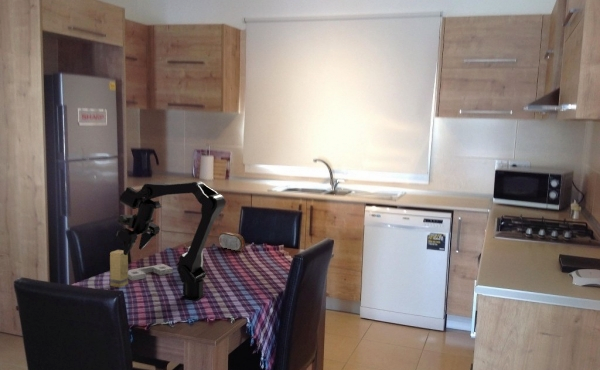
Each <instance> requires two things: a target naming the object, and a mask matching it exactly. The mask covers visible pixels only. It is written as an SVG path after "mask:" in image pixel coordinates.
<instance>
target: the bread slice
mask: <svg viewBox="0 0 600 370" xmlns="http://www.w3.org/2000/svg"><path fill="white" fill-rule="evenodd" d="M218 244H219V246H220V247H221V248H222V249H224V248H227V249H226V250H228V249H231V250H230V251H233V250H235V251H234V252H239V251H242V250H244V248H245V244H246V242H245V238H244V237H243V236H242V235H241V234H239V233H237V232H236V233H234V232H230V231H224V232H221V233H220V234H219V235H218Z"/></svg>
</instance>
